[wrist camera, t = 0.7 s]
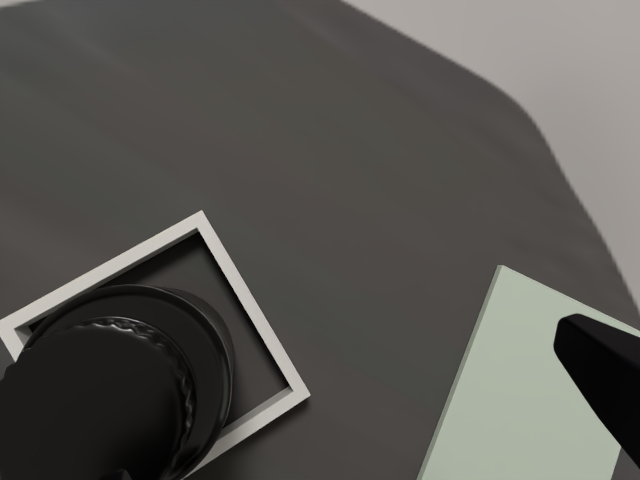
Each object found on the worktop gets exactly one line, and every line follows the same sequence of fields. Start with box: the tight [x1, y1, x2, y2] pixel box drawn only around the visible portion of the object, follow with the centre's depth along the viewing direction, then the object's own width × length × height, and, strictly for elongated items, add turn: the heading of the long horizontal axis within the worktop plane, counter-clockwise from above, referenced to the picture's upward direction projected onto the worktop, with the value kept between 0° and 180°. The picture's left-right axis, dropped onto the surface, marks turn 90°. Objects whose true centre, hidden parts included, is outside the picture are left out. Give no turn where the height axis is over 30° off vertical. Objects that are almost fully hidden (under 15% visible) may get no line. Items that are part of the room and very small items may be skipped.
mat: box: [417, 265, 640, 480], centre depth 26 cm, size 13×10×1 cm
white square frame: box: [0, 210, 310, 480], centre depth 23 cm, size 10×10×2 cm
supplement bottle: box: [0, 284, 234, 480], centre depth 18 cm, size 7×7×12 cm
